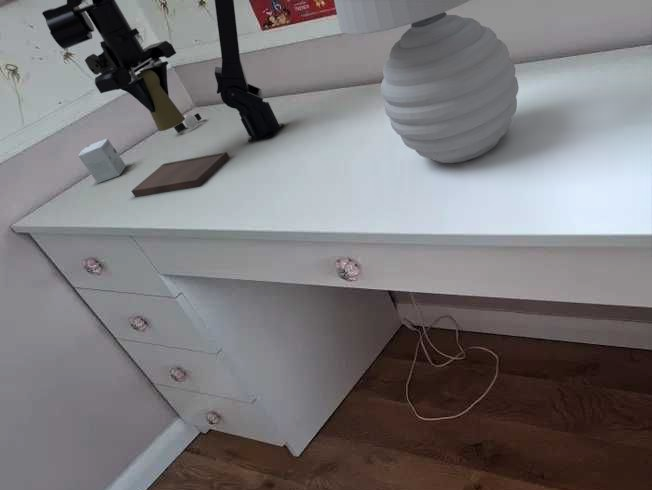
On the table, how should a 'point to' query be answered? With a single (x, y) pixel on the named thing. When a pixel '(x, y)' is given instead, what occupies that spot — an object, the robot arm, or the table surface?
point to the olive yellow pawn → (161, 103)
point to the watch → (188, 122)
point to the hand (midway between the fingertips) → (160, 107)
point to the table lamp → (439, 76)
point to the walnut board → (181, 174)
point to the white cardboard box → (102, 160)
